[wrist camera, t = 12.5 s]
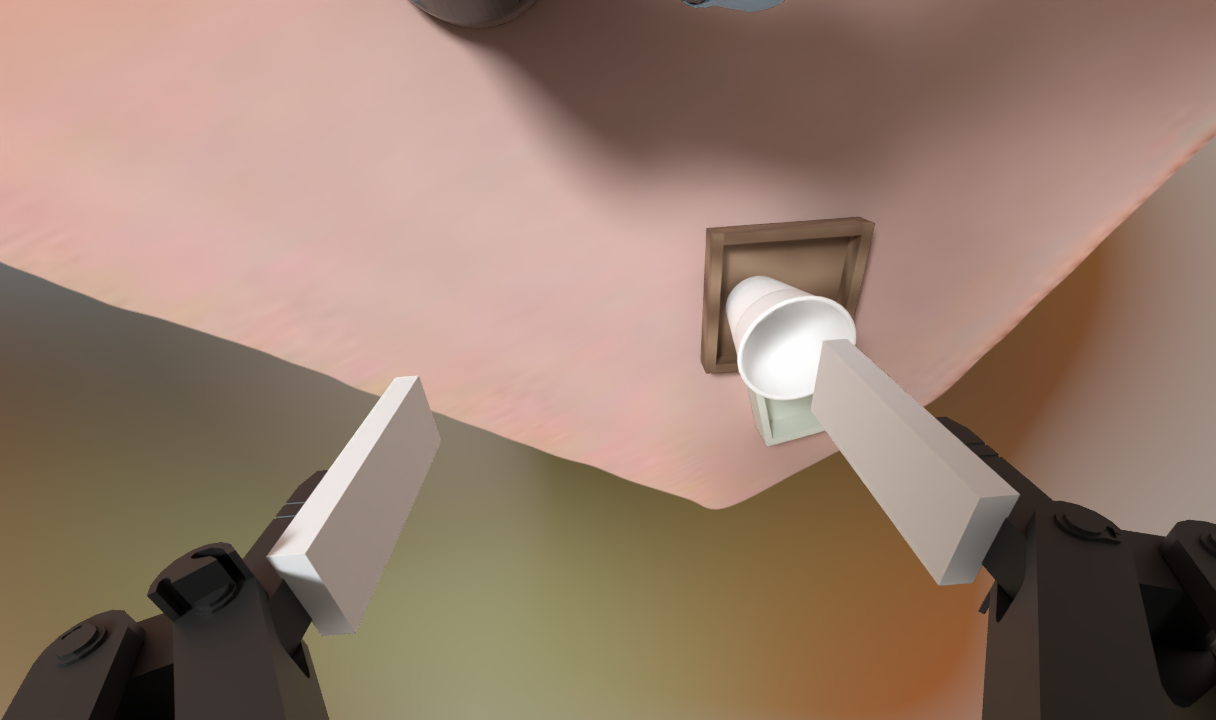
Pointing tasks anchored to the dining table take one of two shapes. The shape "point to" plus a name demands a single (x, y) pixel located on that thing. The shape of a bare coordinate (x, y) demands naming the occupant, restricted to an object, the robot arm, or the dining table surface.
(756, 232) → the brown square tray
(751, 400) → the small crate
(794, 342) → the cup
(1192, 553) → the robot arm
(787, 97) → the dining table surface
